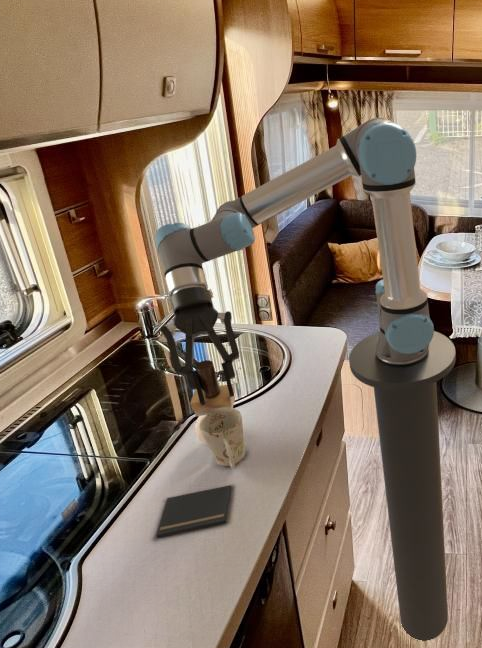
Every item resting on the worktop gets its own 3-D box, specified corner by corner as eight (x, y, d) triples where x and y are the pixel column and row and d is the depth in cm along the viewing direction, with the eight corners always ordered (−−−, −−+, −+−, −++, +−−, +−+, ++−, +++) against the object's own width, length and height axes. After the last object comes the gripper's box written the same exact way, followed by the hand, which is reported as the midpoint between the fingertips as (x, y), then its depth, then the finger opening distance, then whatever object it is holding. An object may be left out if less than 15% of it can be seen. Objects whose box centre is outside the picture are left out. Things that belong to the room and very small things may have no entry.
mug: (245, 438, 114) (236, 403, 110) (260, 471, 105) (250, 434, 100) (207, 453, 110) (196, 417, 106) (219, 489, 101) (207, 451, 96)
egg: (233, 440, 114) (225, 412, 110) (205, 454, 110) (196, 426, 107) (222, 428, 118) (214, 400, 115) (195, 441, 114) (186, 413, 111)
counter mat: (231, 487, 101) (230, 484, 101) (225, 522, 93) (225, 520, 93) (168, 500, 99) (167, 497, 98) (156, 537, 91) (155, 535, 91)
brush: (236, 397, 105) (225, 355, 100) (233, 411, 101) (222, 369, 96) (199, 402, 103) (186, 360, 99) (194, 417, 99) (181, 374, 94)
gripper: (234, 291, 110) (263, 389, 104) (145, 310, 103) (170, 417, 97) (233, 276, 104) (264, 380, 98) (137, 296, 97) (164, 410, 90)
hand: (217, 399), depth 97 cm, fingers closed on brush, 5 cm apart
